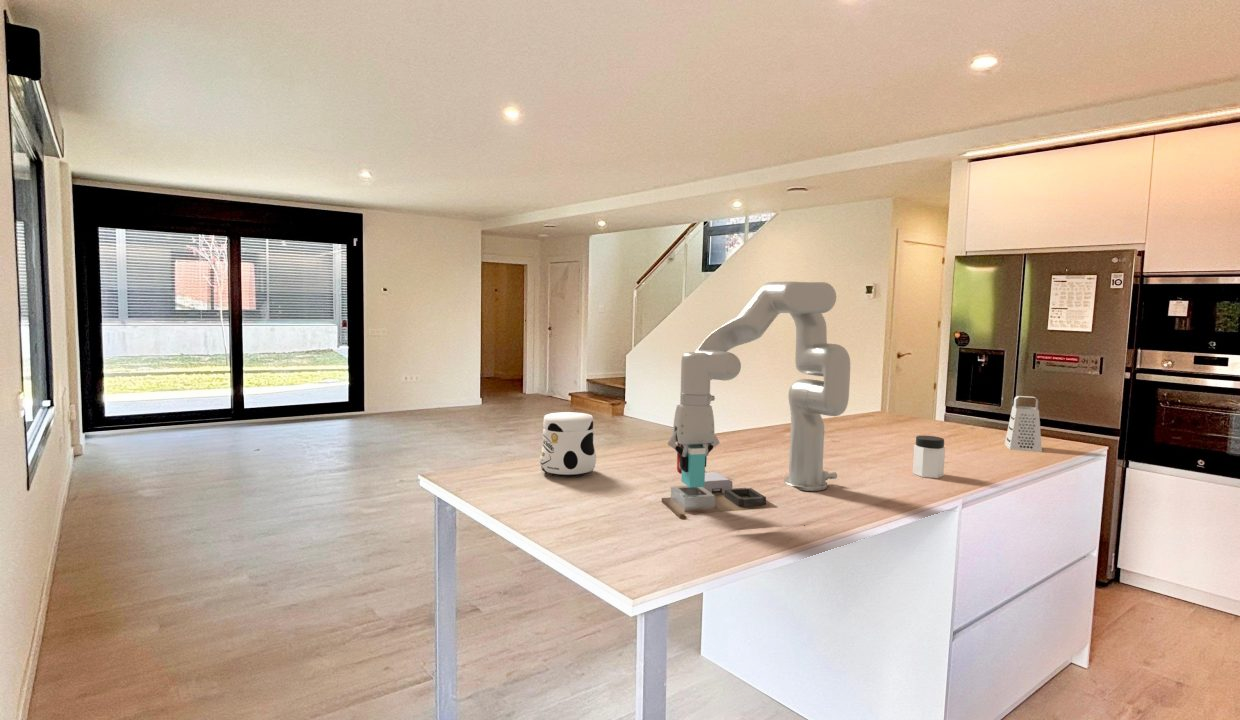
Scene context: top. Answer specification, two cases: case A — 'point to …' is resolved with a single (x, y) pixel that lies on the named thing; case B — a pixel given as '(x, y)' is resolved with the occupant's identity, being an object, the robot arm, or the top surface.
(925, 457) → the jar
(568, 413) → the milk container
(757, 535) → the top surface
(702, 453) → the plug
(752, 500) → the brown socket board
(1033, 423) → the grater
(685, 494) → the frame
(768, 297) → the robot arm
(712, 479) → the charger
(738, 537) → the top surface
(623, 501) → the top surface
